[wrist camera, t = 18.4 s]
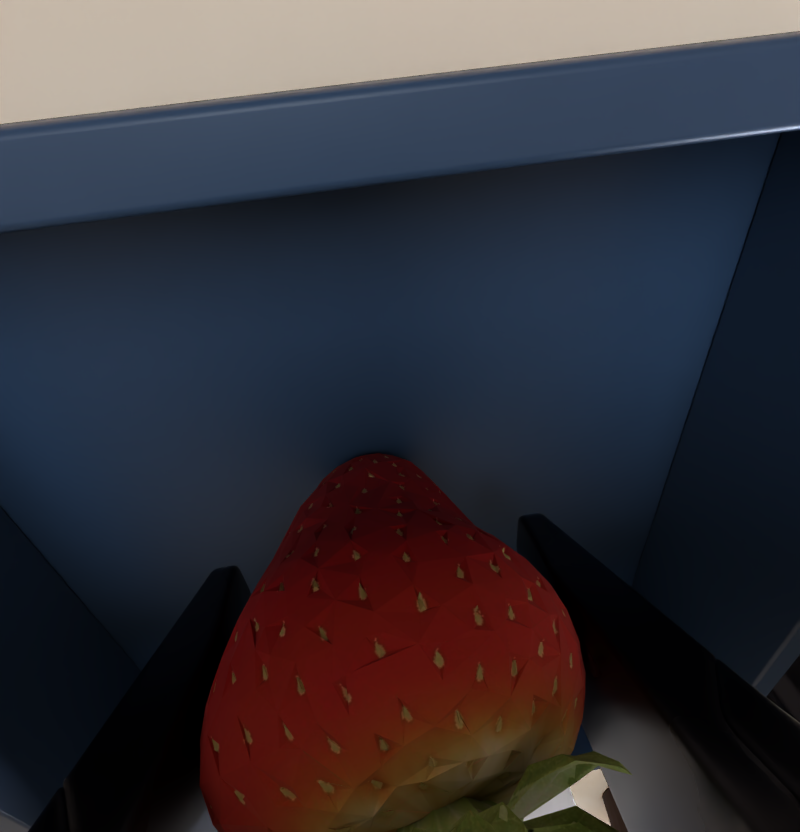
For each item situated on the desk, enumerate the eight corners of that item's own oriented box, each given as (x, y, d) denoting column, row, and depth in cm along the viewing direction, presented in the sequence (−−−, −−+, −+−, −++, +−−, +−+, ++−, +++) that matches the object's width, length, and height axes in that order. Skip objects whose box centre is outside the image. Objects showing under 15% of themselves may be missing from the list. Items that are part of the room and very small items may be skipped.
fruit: (506, 515, 12) (737, 1047, 5) (306, 580, 12) (290, 1153, 6) (460, 342, 9) (866, 1078, 2) (196, 434, 9) (-113, 1307, 3)
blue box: (827, 27, 7) (1355, -31, 3) (635, 589, 15) (731, 741, 12) (-312, 160, 6) (-1209, 267, 2) (143, 681, 14) (85, 877, 11)
